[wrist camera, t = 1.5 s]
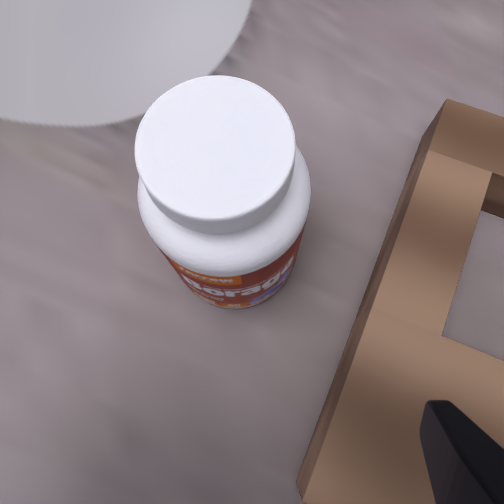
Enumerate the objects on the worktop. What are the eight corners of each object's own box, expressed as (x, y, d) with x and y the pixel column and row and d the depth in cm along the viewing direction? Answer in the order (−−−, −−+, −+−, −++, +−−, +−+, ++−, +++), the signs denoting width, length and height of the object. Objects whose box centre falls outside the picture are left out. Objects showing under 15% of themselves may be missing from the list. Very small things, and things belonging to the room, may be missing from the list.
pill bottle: (187, 322, 22) (117, 267, 12) (169, 209, 24) (94, 73, 13) (308, 297, 23) (347, 221, 12) (281, 187, 24) (295, 35, 14)
